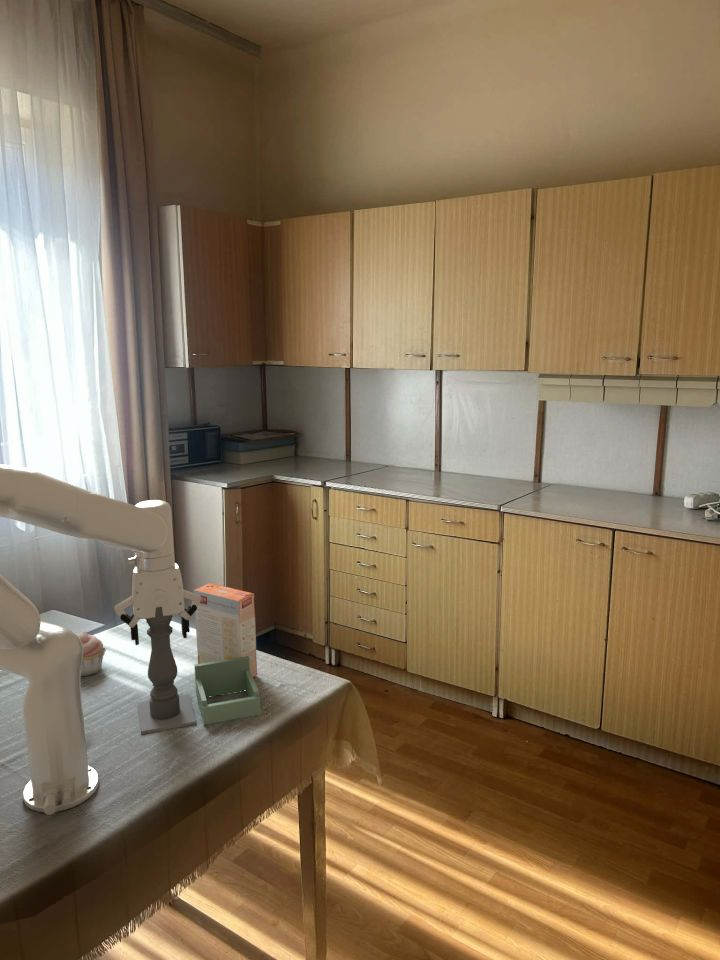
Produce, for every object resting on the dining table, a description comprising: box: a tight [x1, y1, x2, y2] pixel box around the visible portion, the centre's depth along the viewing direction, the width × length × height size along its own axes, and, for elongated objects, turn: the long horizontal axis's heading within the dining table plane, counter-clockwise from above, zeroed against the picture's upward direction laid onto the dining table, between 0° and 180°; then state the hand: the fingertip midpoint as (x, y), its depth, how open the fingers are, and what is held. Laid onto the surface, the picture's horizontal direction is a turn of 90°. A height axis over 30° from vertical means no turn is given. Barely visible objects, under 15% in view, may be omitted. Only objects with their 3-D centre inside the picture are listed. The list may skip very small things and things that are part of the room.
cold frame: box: [194, 656, 261, 726], centre depth 159 cm, size 12×12×8 cm
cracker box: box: [193, 582, 258, 678], centre depth 172 cm, size 14×6×21 cm, turn 58°
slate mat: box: [137, 693, 197, 735], centre depth 156 cm, size 12×11×1 cm
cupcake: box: [77, 631, 107, 677], centre depth 175 cm, size 9×9×10 cm
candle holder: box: [145, 607, 180, 720], centre depth 153 cm, size 6×6×25 cm
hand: (160, 639), depth 153 cm, fingers open, 9 cm apart
